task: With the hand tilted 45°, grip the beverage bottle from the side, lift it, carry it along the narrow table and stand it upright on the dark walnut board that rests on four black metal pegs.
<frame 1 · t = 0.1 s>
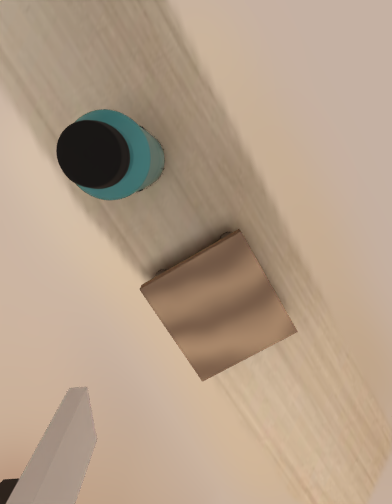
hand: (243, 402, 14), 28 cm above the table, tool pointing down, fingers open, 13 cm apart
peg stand: (216, 293, 42), on the table
beverage bottle: (139, 160, 38), on the table
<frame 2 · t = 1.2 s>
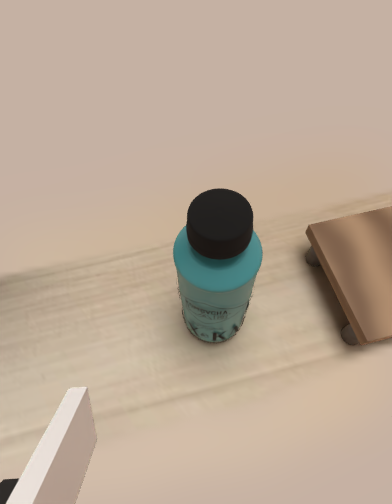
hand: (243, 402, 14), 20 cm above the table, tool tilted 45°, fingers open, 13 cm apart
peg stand: (375, 283, 37), on the table
beverage bottle: (213, 319, 36), on the table
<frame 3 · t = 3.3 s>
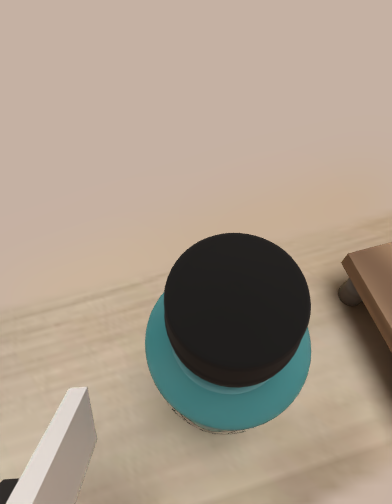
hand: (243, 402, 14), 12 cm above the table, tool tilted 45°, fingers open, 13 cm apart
beverage bottle: (217, 388, 26), on the table
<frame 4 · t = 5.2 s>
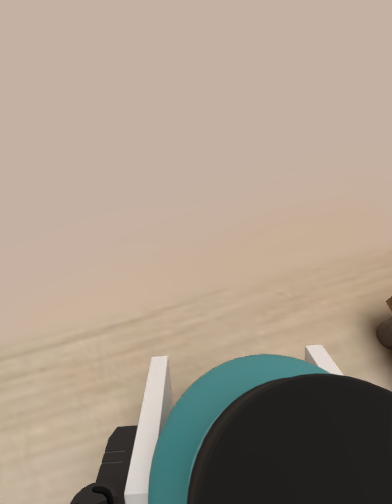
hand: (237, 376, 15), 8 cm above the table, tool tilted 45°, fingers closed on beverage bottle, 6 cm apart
beverage bottle: (234, 455, 21), on the table, touching gripper
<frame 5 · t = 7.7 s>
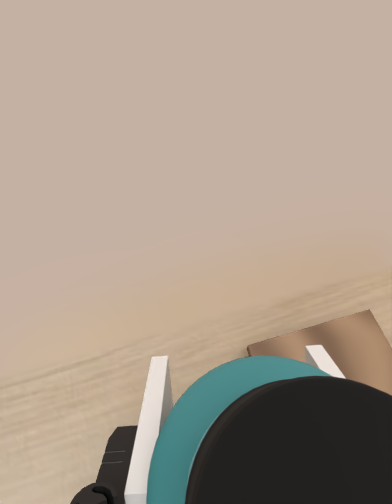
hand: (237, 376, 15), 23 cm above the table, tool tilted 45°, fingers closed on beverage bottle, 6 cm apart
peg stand: (321, 395, 36), on the table
beverage bottle: (234, 455, 21), point 15 cm above the table, touching gripper
when the fingers open (15 cm above the table, at t = 10.6 s): beverage bottle drops 1 cm, resting on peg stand.
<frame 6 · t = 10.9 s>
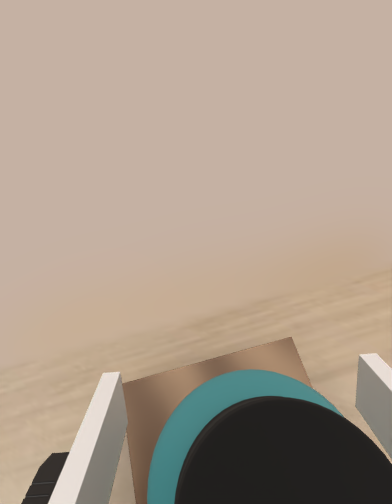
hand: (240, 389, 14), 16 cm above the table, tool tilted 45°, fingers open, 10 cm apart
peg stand: (229, 450, 27), on the table
beverage bottle: (234, 455, 22), point 5 cm above the table, touching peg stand
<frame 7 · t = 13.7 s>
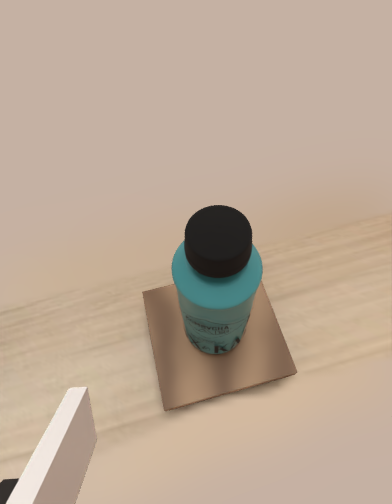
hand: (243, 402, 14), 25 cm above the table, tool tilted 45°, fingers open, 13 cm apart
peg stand: (213, 341, 40), on the table
beverage bottle: (215, 330, 35), point 5 cm above the table, touching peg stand
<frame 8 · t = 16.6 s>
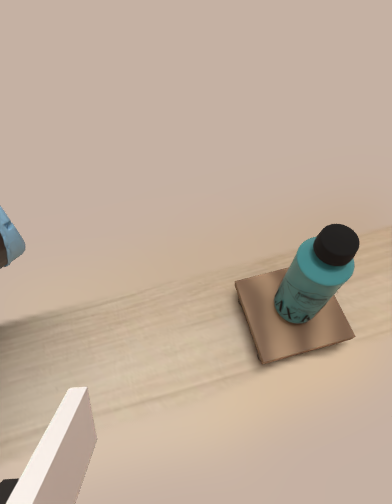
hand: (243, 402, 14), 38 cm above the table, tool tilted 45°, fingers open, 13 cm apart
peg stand: (284, 318, 54), on the table
beverage bottle: (292, 308, 49), point 5 cm above the table, touching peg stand
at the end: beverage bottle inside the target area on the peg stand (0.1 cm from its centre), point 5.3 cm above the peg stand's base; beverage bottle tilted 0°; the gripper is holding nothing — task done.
